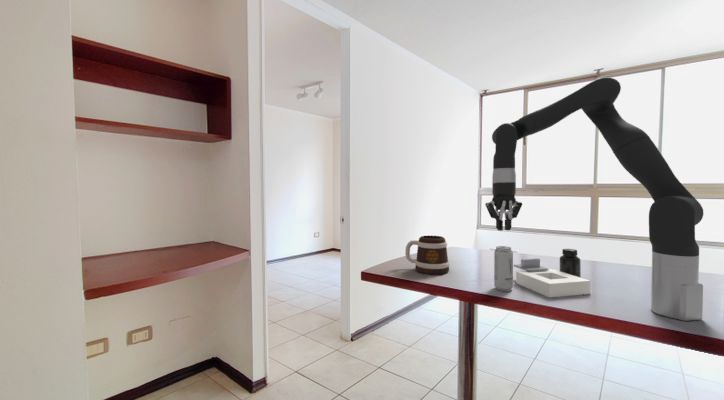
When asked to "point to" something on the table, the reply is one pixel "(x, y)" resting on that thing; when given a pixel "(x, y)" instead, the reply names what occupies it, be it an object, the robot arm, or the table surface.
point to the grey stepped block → (531, 265)
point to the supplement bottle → (570, 262)
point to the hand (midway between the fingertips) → (503, 230)
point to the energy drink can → (503, 268)
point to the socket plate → (553, 283)
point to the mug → (430, 255)
